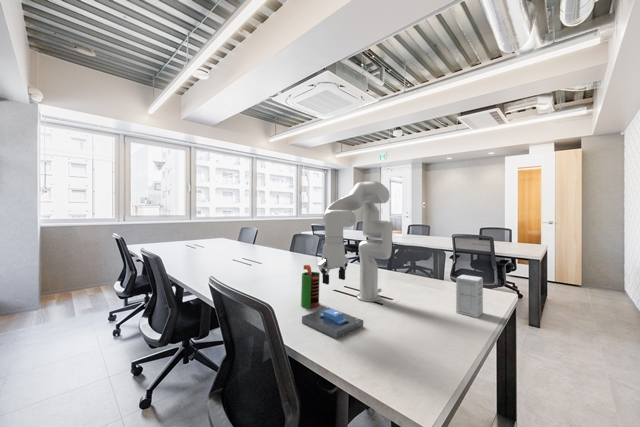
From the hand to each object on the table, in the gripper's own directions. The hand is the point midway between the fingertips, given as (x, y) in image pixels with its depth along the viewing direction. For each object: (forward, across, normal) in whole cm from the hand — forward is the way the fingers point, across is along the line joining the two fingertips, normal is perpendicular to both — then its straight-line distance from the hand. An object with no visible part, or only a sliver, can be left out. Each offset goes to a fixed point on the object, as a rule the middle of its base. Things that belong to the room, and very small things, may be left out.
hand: (334, 281), depth 115 cm
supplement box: (+19, -57, +34) cm, 69 cm away
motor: (+19, -8, -24) cm, 32 cm away
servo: (+18, +1, 0) cm, 18 cm away
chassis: (+18, +1, 0) cm, 18 cm away
